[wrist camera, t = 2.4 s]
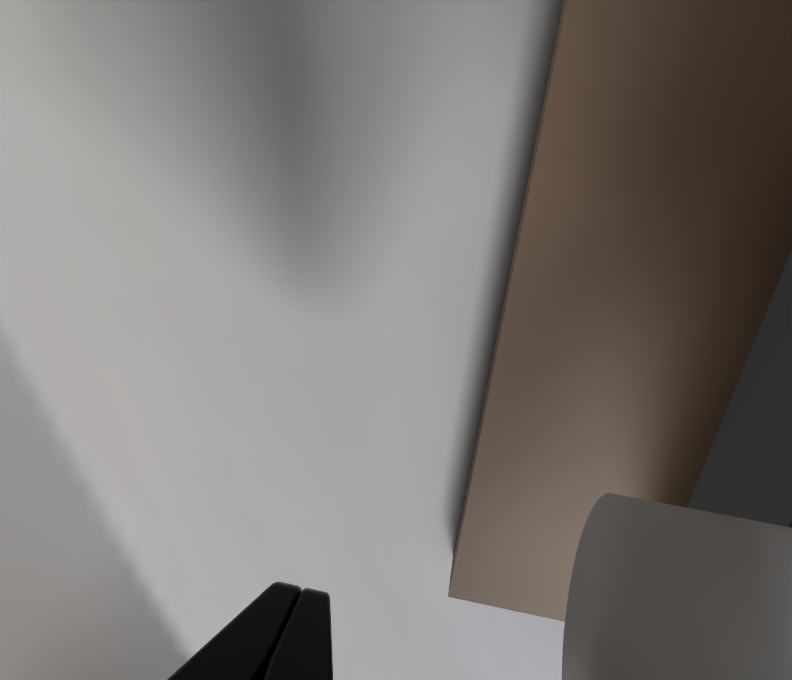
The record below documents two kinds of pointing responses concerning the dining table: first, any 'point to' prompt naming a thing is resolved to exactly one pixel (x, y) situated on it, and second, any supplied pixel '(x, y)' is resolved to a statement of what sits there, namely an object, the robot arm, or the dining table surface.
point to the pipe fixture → (639, 346)
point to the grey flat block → (756, 427)
